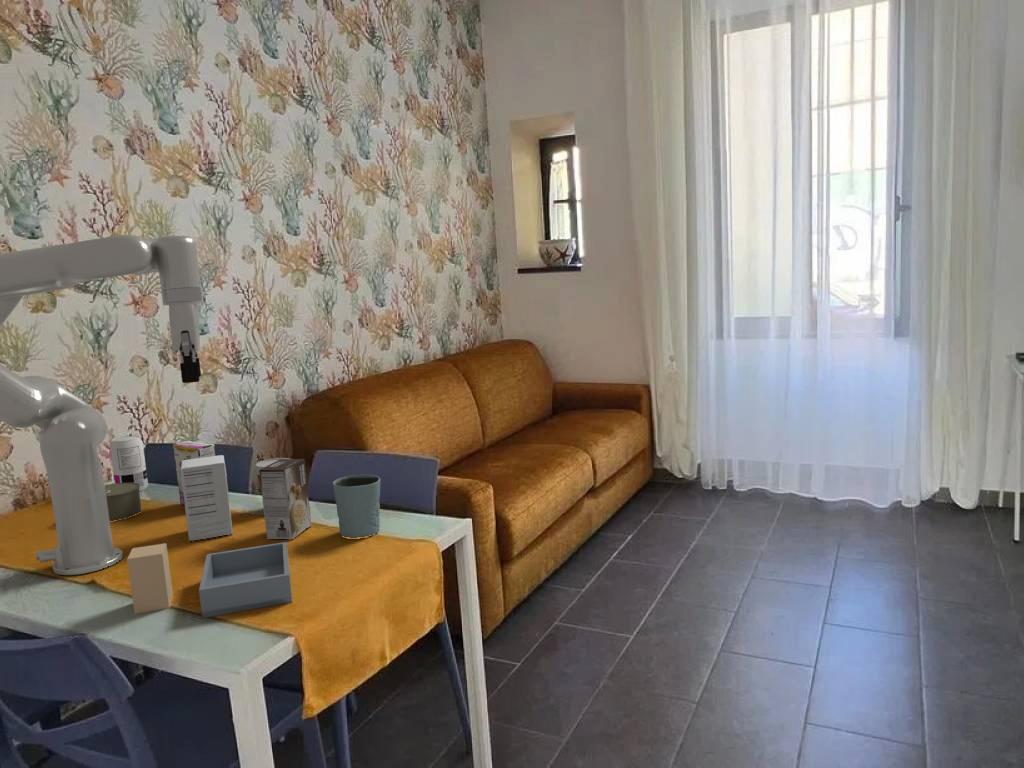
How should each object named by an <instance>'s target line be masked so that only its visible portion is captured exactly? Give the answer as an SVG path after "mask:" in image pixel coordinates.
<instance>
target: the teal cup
mask: <svg viewBox="0 0 1024 768" xmlns="http://www.w3.org/2000/svg"><path fill="white" fill-rule="evenodd" d="M332 488H333V492H334V500H335V503H336V512H337V513H336V515H337V517H338V525H339V526H338V527H339V535H340V534H341V535H342V536H344V537H350V538H357V537H365V536H369V535H373V534H376V533H378V532H379V533H380V528H381V527H380V526H381V525H380V524H381V523H380V509H381V508H380V507H381V505H380V499H381V498H380V497H381V478H380V477H379V476H377V475H376V474H375V475H373V474H353V475H347V476H343V477H340V478H339V477H338V478H337V479H335V480H334V481H333V482H332ZM379 533H378V534H379ZM341 535H340V536H341ZM376 535H377V534H376Z"/></svg>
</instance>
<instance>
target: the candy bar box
mask: <svg viewBox="0 0 1024 768" xmlns="http://www.w3.org/2000/svg"><path fill="white" fill-rule="evenodd" d="M215 445H216V444H215V443H210V442H209V443H208V442H203V441H202V442H200V441H194V440H185V441H181V442H176V443H173V444H172V449H173V456H174V464H175V471H176V477H177V478H176V479H177V485H178V486H177V487H178V494H179V502H180V505H181V506H184V507H185V502H184V495H183V488H182V480H181V471H180V469H181V465H182V460H189V459H196V458H204V457H211V456H217V453H216V446H215Z"/></svg>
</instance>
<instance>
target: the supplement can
mask: <svg viewBox="0 0 1024 768" xmlns="http://www.w3.org/2000/svg"><path fill="white" fill-rule="evenodd" d="M109 451H110V455H111V456H110V457H111V465H112V472H113V479H114V484H117V483H137V484H139V493H140V492H142V491H145V490H146V489H147V488H148V487H149V480H148V472H147V467H146V466H147V464H146V459H145V451H144V442H143V440H142V439H141V437H140V436H139V435H127V436H126V435H125V436H119V437H116V438H112V439H111V442H110V444H109Z"/></svg>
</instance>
